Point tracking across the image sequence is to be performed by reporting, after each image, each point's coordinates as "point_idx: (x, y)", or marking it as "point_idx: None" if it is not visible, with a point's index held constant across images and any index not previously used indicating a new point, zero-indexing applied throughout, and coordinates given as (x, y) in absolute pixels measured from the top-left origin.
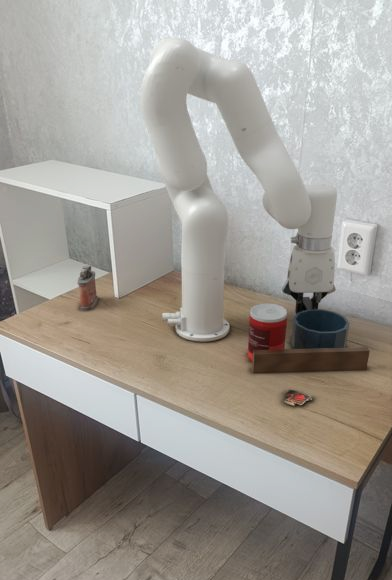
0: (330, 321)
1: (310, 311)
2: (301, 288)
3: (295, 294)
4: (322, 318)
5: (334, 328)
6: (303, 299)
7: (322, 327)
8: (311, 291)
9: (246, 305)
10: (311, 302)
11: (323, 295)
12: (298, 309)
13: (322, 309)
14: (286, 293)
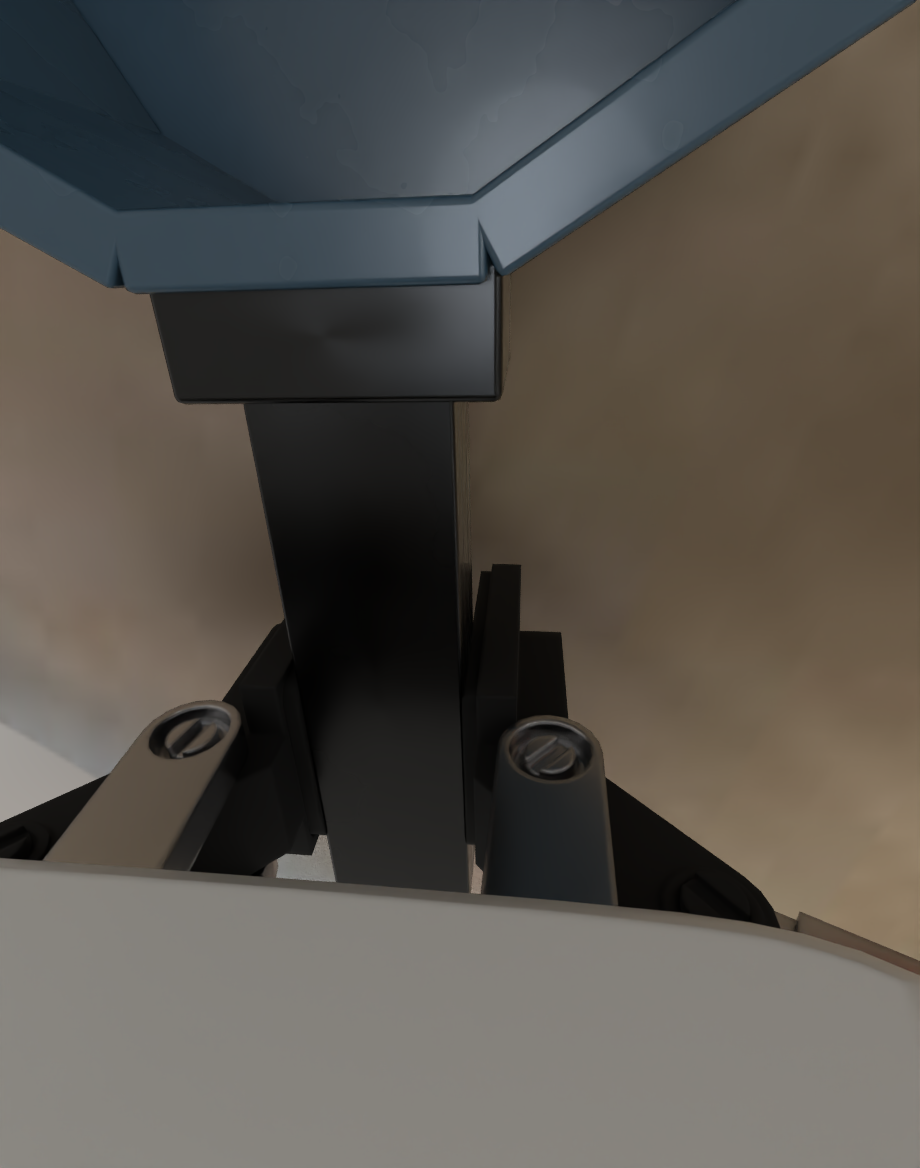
0: (25, 95)
1: (426, 199)
2: (660, 1094)
3: (666, 907)
4: (178, 197)
5: (11, 17)
6: (435, 840)
7: (243, 195)
8: (246, 900)
9: (909, 927)
10: (324, 743)
11: (52, 827)
12: (543, 665)
13: (81, 268)
14: (902, 963)
